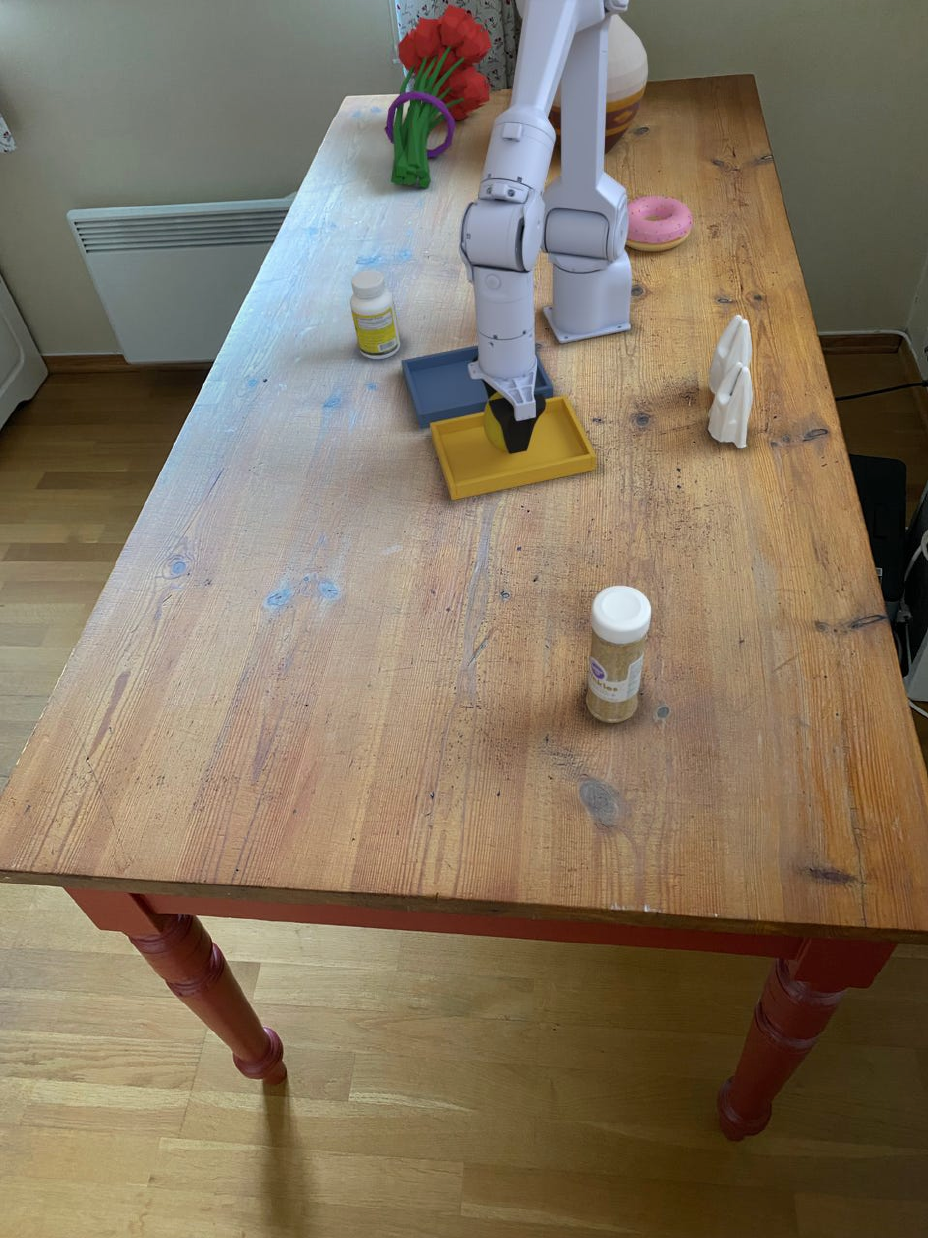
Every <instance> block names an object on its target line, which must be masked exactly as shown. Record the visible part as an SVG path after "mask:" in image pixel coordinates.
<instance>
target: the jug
mask: <svg viewBox="0 0 928 1238" xmlns="http://www.w3.org/2000/svg"><path fill="white" fill-rule="evenodd" d="M647 55H648V53H647V51H646V49H645V47H644V45H643V43H642V40H641V39H640V37H639V36H638V35H637V33H635V31H634V30H633V29H632V28H631V27H630V26H629V25H628V24H627V23H626V22H625V21H624V20H623V19H622V18H621V16H620V15H619V14H615V15H612V17H611V21H610V26H609V36H608V64H607V92H606V120H605V148H604V155H606V154H607V153H609V152H610V151H611V150H612V149H613V148H614V147H615V145H616V144H617V143H618V142H619V141H620V140H621V138H622V137H623V136H624V135H625V133H626V132H627V131H628V129H629V128H630V127H631V125H632V124H633V122H634V121H635V118H636V116H637V114H638V111H639V109H640V107H641V104H642V100H643V98H644V93H645V91H646V90H645V89H646V88H647V87H646V86H647V82H648V74H649V65H648V56H647ZM548 120H549V122H550V123H551V125H552V127H553V128H554V131H555V134H556V140H555V143H556V144H557V145H558V146H559V147H560V148H561V78H560V81H559V84H558V87H557V91H556V94H555V97H554V100H553V103H552V106H551V109H550V113H549V116H548Z"/></svg>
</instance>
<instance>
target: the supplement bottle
mask: <svg viewBox="0 0 928 1238" xmlns="http://www.w3.org/2000/svg"><path fill="white" fill-rule="evenodd" d="M350 283H351V288H352V290H351V291H352V293H353V294H352V295H351V297H350V299H349V306H350V312H351V317H352V321H353V325H354V326H353V327H354V331H355V335H356V340H357V344H358V349H359V352H360V353H361V354H362V356H364V357H365V358H368V359H370V360H371V359H372V360H382V359H383V360H384V359H388V358H390V357H392V356H393V355H395V354H396V353H397V352H398V351H399V350H400V347H401V336H400V331H399V323H398V319H397V313H396V307H395V306H396V305H395V300H394V296H393V294H392V292H391V291H390V289H388V288H387V287H386V282H385V277H384V275H383V273H382V272H381V271H379V270H375V269H365V270H362V271H359V272H357V273H355V274H354V275H353V276H352V277H351V279H350Z"/></svg>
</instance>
